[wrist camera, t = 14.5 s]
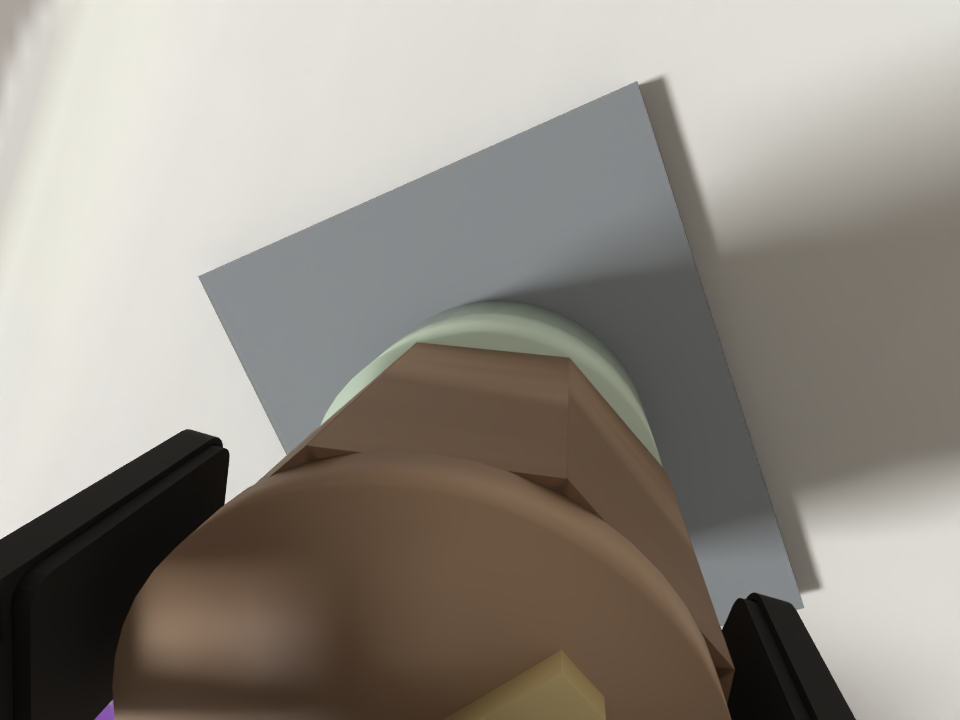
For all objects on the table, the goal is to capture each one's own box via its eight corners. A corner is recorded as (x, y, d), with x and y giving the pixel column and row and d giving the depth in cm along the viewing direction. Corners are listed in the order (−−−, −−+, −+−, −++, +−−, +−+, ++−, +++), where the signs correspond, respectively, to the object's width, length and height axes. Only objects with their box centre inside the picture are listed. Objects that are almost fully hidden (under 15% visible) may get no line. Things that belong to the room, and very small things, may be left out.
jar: (685, 526, 15) (771, 778, 9) (428, 592, 17) (335, 842, 10) (589, 255, 14) (605, 309, 7) (318, 358, 16) (131, 476, 9)
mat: (795, 593, 16) (804, 607, 15) (409, 677, 19) (404, 692, 18) (634, 86, 13) (637, 81, 13) (211, 273, 16) (198, 276, 16)
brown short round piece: (497, 265, 11) (411, 343, 5) (739, 550, 12) (909, 906, 6) (247, 482, 13) (-19, 715, 7) (466, 711, 14) (388, 1088, 8)
